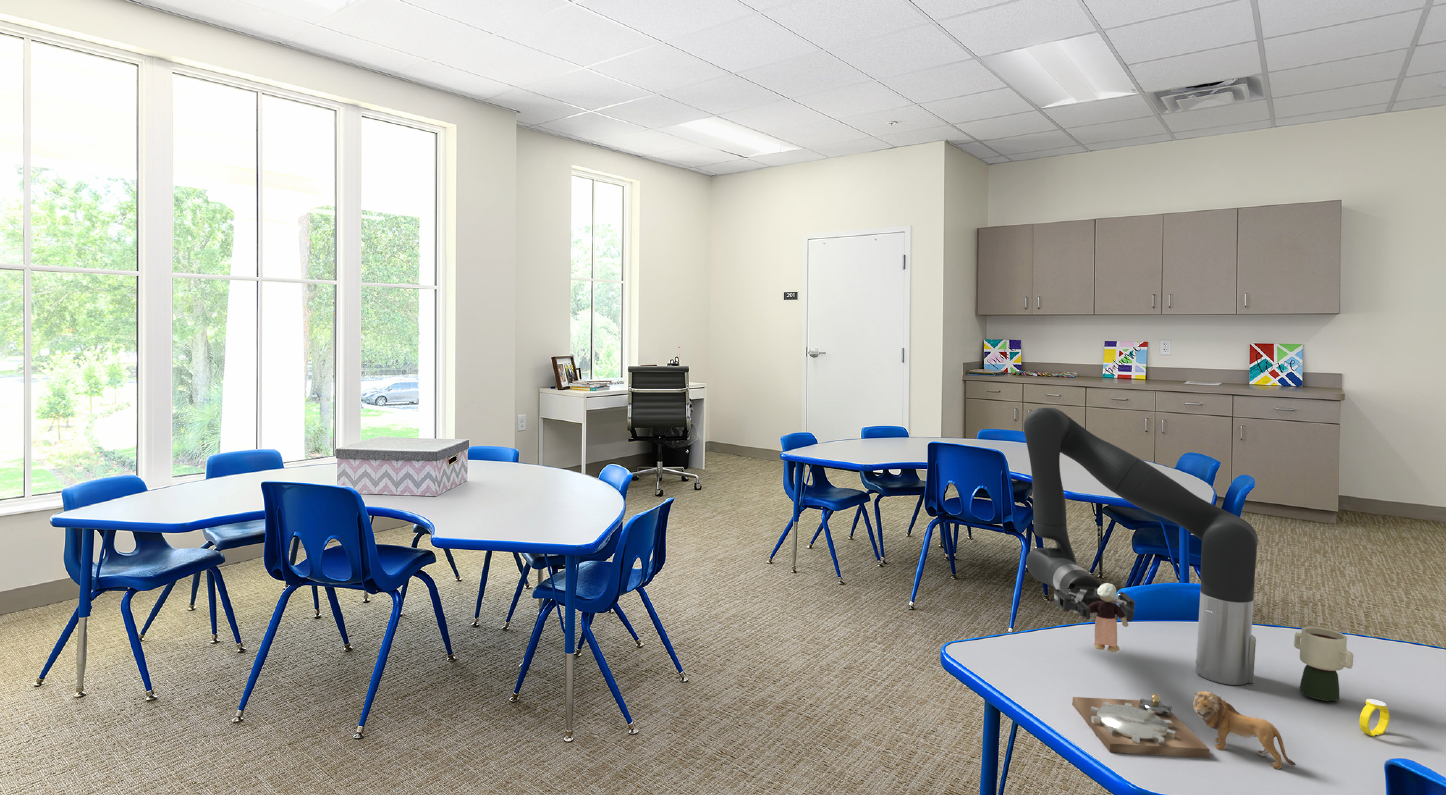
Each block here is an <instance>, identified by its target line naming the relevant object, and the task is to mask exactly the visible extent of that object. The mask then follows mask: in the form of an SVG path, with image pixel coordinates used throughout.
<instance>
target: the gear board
mask: <svg viewBox="0 0 1446 795" xmlns="http://www.w3.org/2000/svg"><path fill="white" fill-rule="evenodd" d="M1071 702H1072V706H1073V708H1075V710H1076V712H1078V714H1079V715H1080V717H1081V718H1083V720H1084V721H1085V723H1086V724H1087V726H1088V727H1089V728H1090V729H1091V730H1092V731H1093V733H1094V734H1095V735H1096V737H1097V738H1098V739H1099V741H1101V743H1102V744H1103V745H1104V746H1105V749H1107V751H1108V752H1109V753H1121V754H1139V755H1155V756H1159V755H1160V756H1175V757H1193V758H1194V757H1195V758H1210V748H1209V747H1208V746H1207V745H1206V744H1205V743H1204V742H1203V741H1202V740H1201V739H1200V738H1199V737H1198V736H1197V735H1196V734H1195V733H1194V732H1193V731H1192V730H1190V728H1189V727H1188V726H1186V724H1184V722H1182V721H1181V719H1179V718H1178V717H1177V716H1176V715H1175V713H1173V712H1172V711H1171V714H1170V717H1169V718H1167V717H1165V716H1158V717H1160V718H1161V719H1162V720H1170V721H1171V722H1172V723H1173V729H1172V728H1168V729H1170V730H1173V731H1176V735H1175V739H1171V738H1168V737H1165V738H1164V744H1161V745H1158V744H1157V743H1155V742H1154V741H1140V742H1139V744H1138V743H1133V742H1132V740H1131V739H1130V738H1126V737H1123V736H1120V735H1117V734H1116V735H1113V736H1111V735H1109V734H1107V733H1106V728H1104V727H1103V726H1102V725H1095V724H1093V723H1092V722H1091V716H1096V715H1093V714H1090V708H1091V707H1092V706H1093V707H1097V708H1101V707H1102V702H1109V703H1110V704H1112V705H1125V703H1130V704H1132V707H1136V708H1139V704H1140V699H1139V700H1138V699H1123V698H1121V699H1119V698H1103V697H1102V698H1099V697H1082V696H1081V697H1080V696H1072V701H1071ZM1159 702H1160V703H1163V702H1161V701H1160V700H1159Z"/></svg>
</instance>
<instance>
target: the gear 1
mask: <svg viewBox="0 0 1446 795" xmlns="http://www.w3.org/2000/svg"><path fill="white" fill-rule="evenodd" d="M1090 714H1093V715H1096V716H1091V722H1092V723H1093V724H1095V725H1102V726H1103V727H1104V728H1106V733H1107V734H1109V735H1111V736H1113V735H1116V734H1117V735H1120V736H1123V737H1126V738H1130V739H1131V740H1132V742H1133V743H1138V744H1139V742H1140V741H1154V742H1155V743H1157V744H1158V745H1161V744H1164V738H1165V737H1168V738H1171V739H1175V735H1176V731H1173V730H1170V729H1168V728H1172V729H1173V723H1172V722H1171V721H1170V720H1162V719H1161V718H1160V717H1158V716H1157V715H1156V711H1154V710H1151V709H1149V710H1147V711H1146V710H1143V709H1140V708H1136V707H1132V704H1130V703H1125V705H1112V704H1110V703H1109V702H1102V707H1101V708H1097V707H1093V706H1092V707H1091V708H1090Z"/></svg>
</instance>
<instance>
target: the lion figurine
mask: <svg viewBox="0 0 1446 795" xmlns="http://www.w3.org/2000/svg"><path fill="white" fill-rule="evenodd" d="M1192 707H1193V711H1194V712H1195V714H1197V716H1198V717H1199V718H1201V720H1203V721H1204V722H1205V724H1206V726H1208V727H1209V728H1211V729H1215V730H1217V735H1218V737H1215V738H1214V739H1215V742H1216V744H1215V745H1214V747H1215V748H1216V749H1217V750H1219V751H1223V750H1225V749H1226V748H1227V738H1228V735H1229V734H1230V733H1231V734H1234V735H1236V736H1239V737H1242V738H1246V739H1247V738H1248V739H1249V738H1257V739H1258V741H1259V743H1260V744H1261V746H1262V747H1263V750H1261V749H1258V750H1257V755H1259V756H1261V757H1266V756H1268V755H1271V756H1272V757H1273V758H1274V760H1275V761H1274V762H1271V767H1272V768H1273V769H1276V770H1279V769H1282V767H1283V761H1282V756H1283V759H1284V760H1285V762H1286V763H1287V764H1289V765H1290V766H1297V764H1296V762H1295V761H1293V760H1292V759H1290V758H1289V757H1288V756H1287V753H1286V750H1285V745H1284V741H1283V738H1282V736H1281V734H1280V732H1279V730H1278V728H1276V727H1275V725H1274V724H1273V723H1271V722H1269V721H1268V720H1266V719H1265V718H1258V717H1251V716H1249V715H1248V716H1247V715H1244V714H1241V713H1240V712H1239V711H1237V710H1236V709H1235V707H1233V705H1232V704H1230V703H1229V702H1226V700H1224V699H1222V698H1221V696H1218V695H1217V694H1215V693H1213V692H1210V691H1206V690H1201V691H1199V692H1194V700H1193V703H1192ZM1275 738H1276V740H1277V743H1278V746H1279V748H1280V752H1281V754H1282V755H1281V754H1280V752H1279V751H1278V750H1277V748H1276V746H1275V744H1274V741H1275V740H1274V739H1275Z"/></svg>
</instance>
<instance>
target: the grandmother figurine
mask: <svg viewBox="0 0 1446 795" xmlns="http://www.w3.org/2000/svg"><path fill="white" fill-rule="evenodd" d="M1097 594H1098V595H1099V596H1100V598H1101V599H1102V600H1103V601H1097V602H1093V603H1091V604H1090V605H1089V606H1088V607H1089V608H1090V615H1091V614H1095V613H1097V614H1096V616H1095V623H1094V643H1093V648H1094V649H1095V650H1100V651H1103V650H1105V648H1106V646H1108V647H1107V651H1108V652H1111V653H1117V652H1119V651H1120V650H1121V649H1120V646H1119V645H1118V624H1117V623H1118V621H1117V618H1119V619H1120V622H1121V625H1122V626H1123V627H1125V628H1127V627H1128V626H1129V621H1127V619H1126V617H1125V614H1124V612H1123V611H1122V609H1121V608H1120V607H1119V606H1118V604H1117V605H1116V604H1114V603H1111V602H1112V601H1113V600H1114V598H1115V597H1116V596H1117V587H1116V586H1115V585H1114V584H1112V583H1109V582H1106V583H1105V582H1104V583H1101V585H1100V587H1099V588H1098V590H1097ZM1116 616H1117V618H1116Z"/></svg>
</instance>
